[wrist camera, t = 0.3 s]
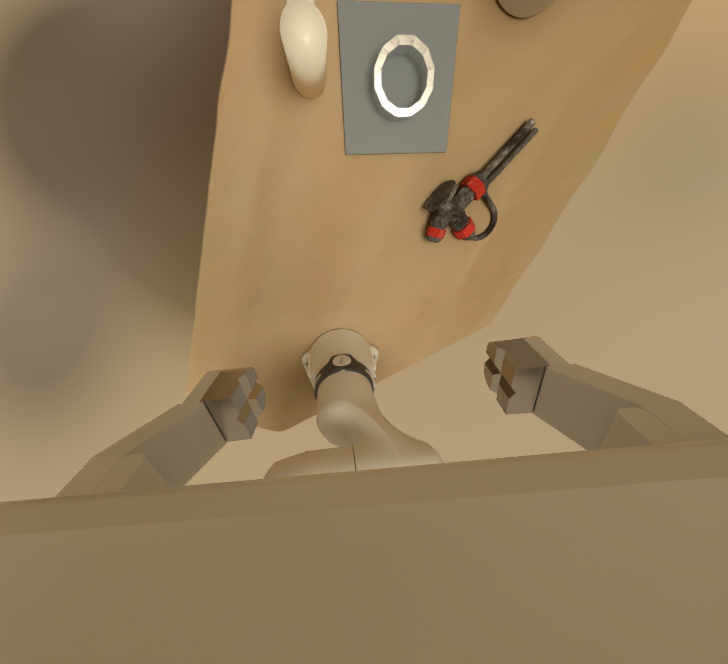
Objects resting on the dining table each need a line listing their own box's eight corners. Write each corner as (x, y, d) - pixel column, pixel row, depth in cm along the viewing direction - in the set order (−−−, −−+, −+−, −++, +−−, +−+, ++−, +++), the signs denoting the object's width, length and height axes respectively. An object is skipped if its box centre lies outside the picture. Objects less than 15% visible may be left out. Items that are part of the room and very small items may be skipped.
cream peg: (327, 98, 43) (329, 63, 30) (295, 99, 42) (284, 64, 30) (320, 21, 38) (319, -55, 26) (284, 21, 38) (267, -56, 26)
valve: (445, 265, 61) (405, 218, 53) (538, 168, 55) (509, 99, 47) (461, 274, 56) (420, 225, 48) (565, 169, 50) (538, 92, 42)
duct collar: (423, 120, 45) (431, 115, 42) (371, 121, 44) (374, 116, 41) (428, 46, 41) (436, 35, 38) (370, 45, 40) (374, 34, 37)
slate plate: (444, 152, 48) (446, 151, 48) (345, 154, 46) (345, 154, 46) (458, 6, 40) (460, 4, 39) (337, 2, 38) (337, 0, 37)
